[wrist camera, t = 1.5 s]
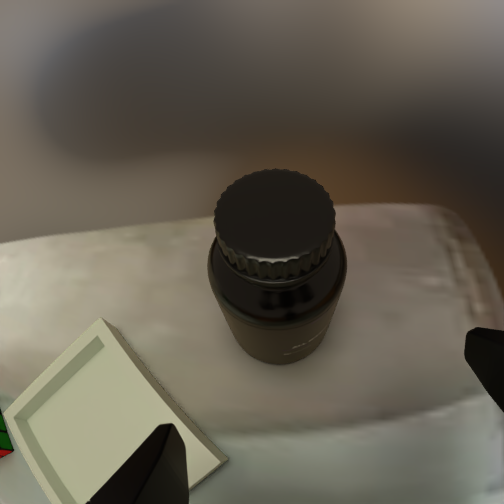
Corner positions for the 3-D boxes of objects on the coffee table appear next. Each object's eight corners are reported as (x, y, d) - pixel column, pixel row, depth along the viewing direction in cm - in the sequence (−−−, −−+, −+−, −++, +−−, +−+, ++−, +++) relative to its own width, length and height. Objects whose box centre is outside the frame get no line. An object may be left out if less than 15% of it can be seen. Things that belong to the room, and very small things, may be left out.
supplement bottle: (315, 376, 20) (344, 316, 10) (219, 350, 22) (154, 267, 11) (337, 287, 23) (368, 167, 13) (250, 266, 25) (222, 143, 15)
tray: (228, 458, 17) (220, 462, 15) (107, 545, 13) (89, 553, 11) (116, 328, 23) (100, 316, 21) (22, 417, 19) (3, 413, 17)
